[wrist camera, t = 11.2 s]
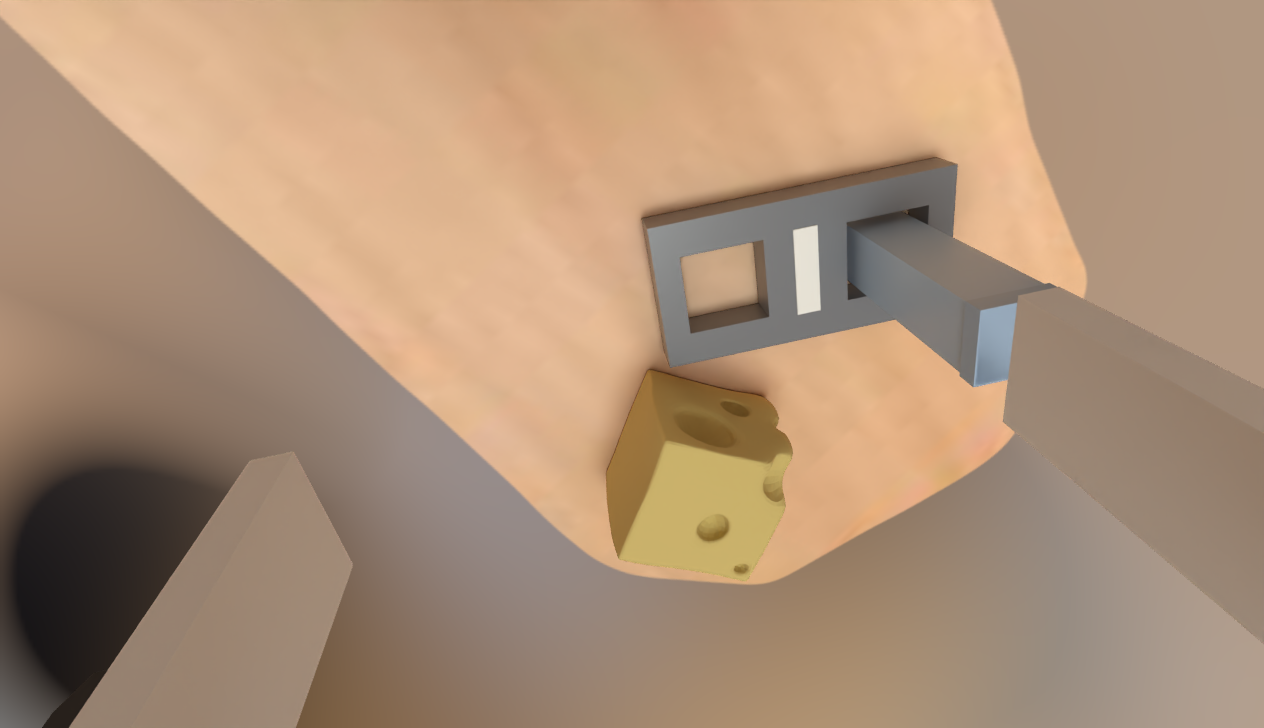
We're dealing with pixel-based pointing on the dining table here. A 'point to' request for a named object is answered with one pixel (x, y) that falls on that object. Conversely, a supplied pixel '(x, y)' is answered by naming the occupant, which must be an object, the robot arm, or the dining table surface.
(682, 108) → the dining table surface
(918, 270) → the plug
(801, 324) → the port panel
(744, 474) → the cheese
